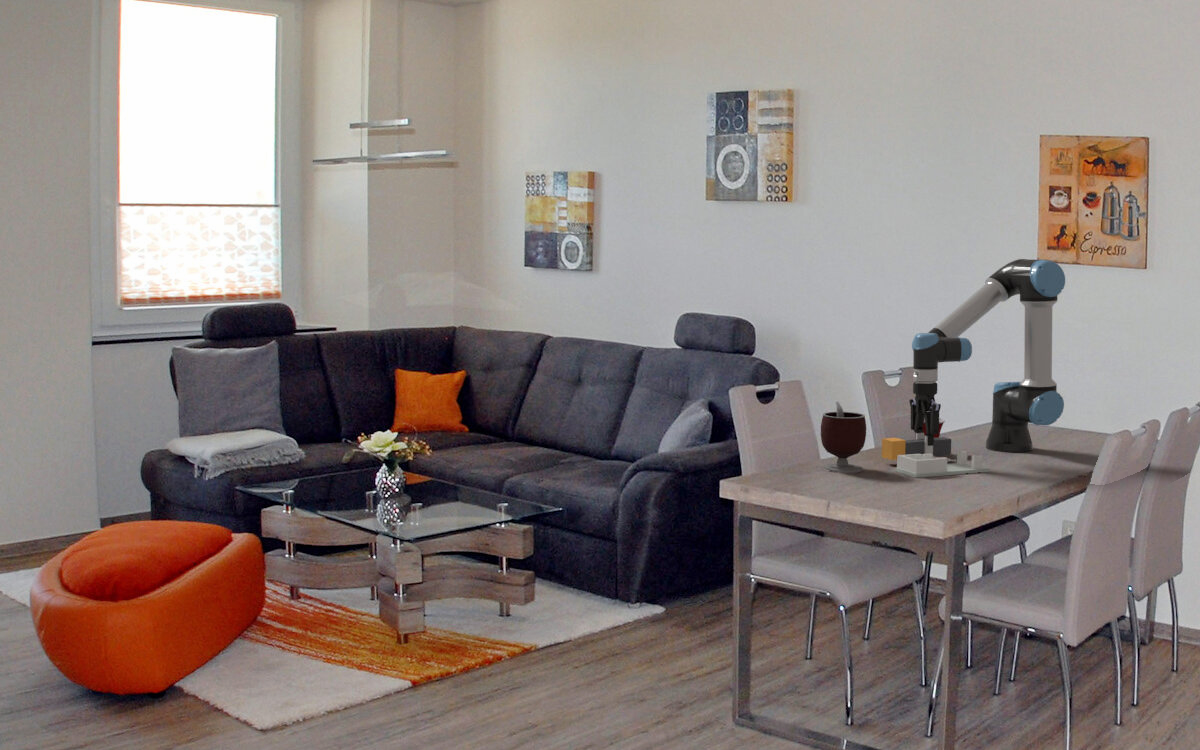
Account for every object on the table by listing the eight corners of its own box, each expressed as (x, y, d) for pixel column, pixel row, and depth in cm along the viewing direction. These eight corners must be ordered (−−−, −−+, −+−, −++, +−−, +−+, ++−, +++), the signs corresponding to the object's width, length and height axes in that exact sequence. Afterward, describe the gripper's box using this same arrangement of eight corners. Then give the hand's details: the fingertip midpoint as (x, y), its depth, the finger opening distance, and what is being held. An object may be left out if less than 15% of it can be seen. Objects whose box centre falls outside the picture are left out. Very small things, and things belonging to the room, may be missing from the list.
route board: (967, 465, 398) (967, 449, 397) (989, 471, 388) (990, 455, 387) (895, 470, 388) (895, 455, 388) (916, 477, 378) (916, 461, 377)
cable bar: (941, 451, 408) (942, 433, 407) (952, 454, 403) (952, 436, 402) (881, 457, 400) (882, 438, 399) (891, 460, 395) (892, 441, 394)
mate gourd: (870, 473, 384) (872, 408, 382) (825, 473, 383) (827, 408, 381) (856, 463, 400) (858, 401, 397) (813, 464, 399) (815, 401, 397)
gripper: (899, 379, 406) (898, 450, 409) (931, 385, 390) (930, 459, 393) (919, 378, 409) (917, 448, 412) (951, 384, 393) (950, 457, 396)
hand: (924, 454), depth 402 cm, fingers closed on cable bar, 4 cm apart
